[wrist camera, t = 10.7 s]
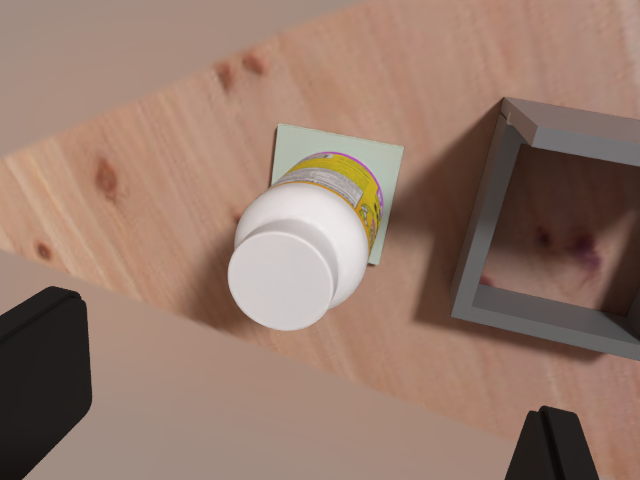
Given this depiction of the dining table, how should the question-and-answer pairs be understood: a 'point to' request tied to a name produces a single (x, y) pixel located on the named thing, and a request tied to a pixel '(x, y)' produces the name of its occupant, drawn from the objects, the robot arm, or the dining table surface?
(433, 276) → the dining table surface
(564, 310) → the case
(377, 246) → the rest pad
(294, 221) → the supplement bottle
